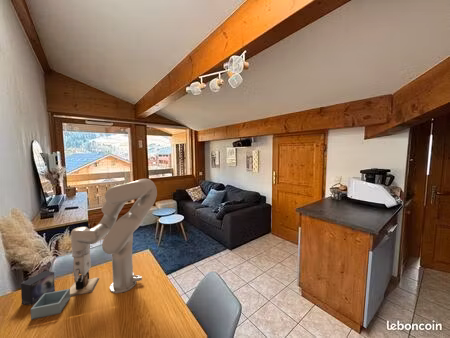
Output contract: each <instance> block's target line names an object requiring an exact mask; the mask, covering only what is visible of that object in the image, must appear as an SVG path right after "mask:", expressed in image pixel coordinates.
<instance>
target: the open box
mask: <svg viewBox="0 0 450 338" xmlns="http://www.w3.org/2000/svg"><path fill="white" fill-rule="evenodd" d="M69 300H71V297H70V288H66V289H62V290H61V289H60V290H55V291H54V292H49V293H44V294H43V295H42V297H41V298H40V299H39V300H38V301H37V302H36V303H34V304H33V305H32V307H31V308H30V320H31V321H32V320H36V319H40V318H41V319H42V318H45V317H51V316H55V315H60V314H61V312H62V311H63V310H64V308H65V306H66V305H67V304H68V302H69Z"/></svg>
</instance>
